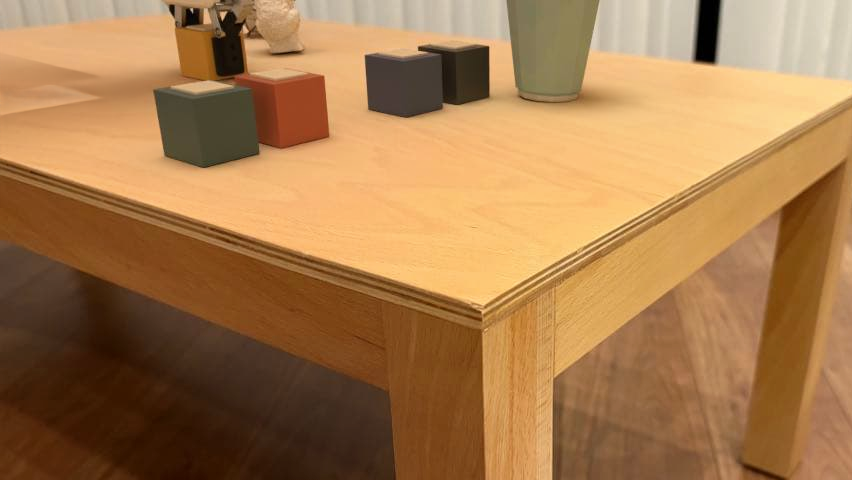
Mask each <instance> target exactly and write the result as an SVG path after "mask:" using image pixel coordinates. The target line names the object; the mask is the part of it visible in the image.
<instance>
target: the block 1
mask: <svg viewBox="0 0 852 480" xmlns="http://www.w3.org/2000/svg"><path fill="white" fill-rule="evenodd" d="M152 91H153V97H154V102H155V108H156V115H157V121H158V126H159V133H160V138H161V143H162V151H163V155H164V157H168V158H171V159H175V160H178V161H182V162H184V163H187V164H191V165H194V166H198V167H200V168H207V167H211V166H216V165H219V164H223V163H228V162H231V161H236V160H240V159H243V158H247V157H251V156H255V155H256V156H257V155H259V154H260V151H261V150H260V144H259V143H260V142H258V135H257V127H256V118H255V110H254V102H253V94H252V89H251V88H247V87H242V86H238V85H235V84H233V83H228V82H224V81H220V80H216V81H215V80H207V81H205V80H201V81H195V82H190V83H189V82H188V83H183V84H177V85H171V86H166V87H159V88H154V89H152Z"/></svg>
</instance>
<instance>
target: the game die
mask: <svg viewBox="0 0 852 480" xmlns="http://www.w3.org/2000/svg"><path fill="white" fill-rule="evenodd" d="M251 1H252V3H253V9H252V11H251V12H250V13H249V15H248V16H247V18H246V22H245V23H244V25H243V26H244V27H245V28H246V30H247V31H248V32H247V33H246V39H247V38H250V37H251V36H252V34H253V33H256V34H257V33H259V31H258V30H257V26H256V20H257V15H256V7H255V2H254V0H251ZM295 1H296V0H294V2H295Z"/></svg>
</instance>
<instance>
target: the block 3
mask: <svg viewBox="0 0 852 480" xmlns="http://www.w3.org/2000/svg"><path fill="white" fill-rule="evenodd" d="M364 67H365V68H364V69H365V82H366V83H365V84H366V97H367V98H366V99H367V109H368V110H369V111H373V112H374V111H375V112H379V113H385V114H388V115H393V116H399V117H403V118H409V117H413V116H418V115H421V114H425V113H430V112H433V111H438V110H442V109H444V102H443V90H442V55H441V54H434V53H428V52H422V51H418V50H415V49H409V48H397V49H391V50H386V51H385V50H384V51H381V52H379V51H378V52H374V53H368V54H364Z"/></svg>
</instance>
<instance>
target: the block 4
mask: <svg viewBox="0 0 852 480" xmlns="http://www.w3.org/2000/svg"><path fill="white" fill-rule="evenodd" d="M417 51H422V52H428V53H434V54H441V55H442V90H443V103H446V104H451V105H457V106H458V105H461V104H466V103H469V102H474V101H478V100H481V99H486V98H490V96H491V95H490V94H491V93H490V92H491V91H490V89H491V87H490V86H491V83H490V72H491V71H490V45H484V44H477V43H472V42H465V41H458V40H447V41H441V42H435V43H429V44H424V45H418V46H417Z"/></svg>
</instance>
